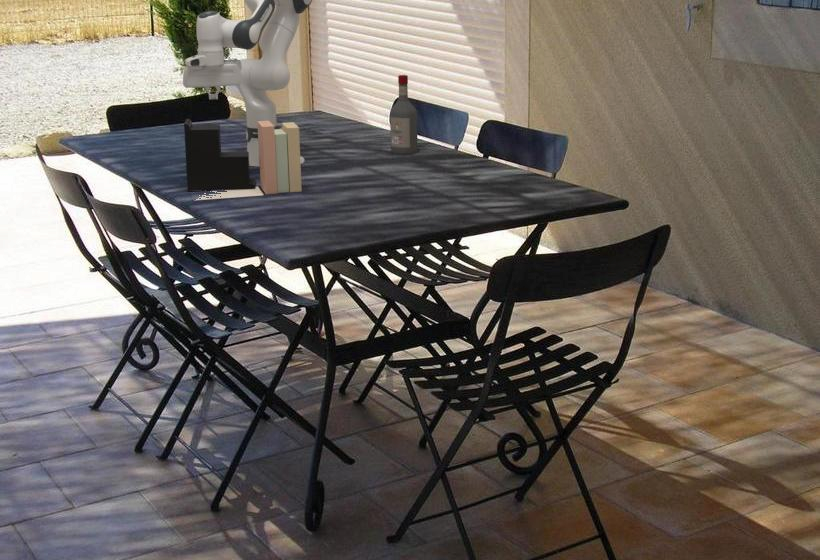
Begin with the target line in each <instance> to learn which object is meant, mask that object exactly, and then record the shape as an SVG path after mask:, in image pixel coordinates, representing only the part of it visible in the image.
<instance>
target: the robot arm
mask: <svg viewBox="0 0 820 560" xmlns="http://www.w3.org/2000/svg"><path fill="white" fill-rule="evenodd" d="M312 2H313V0H244V3H245V5H246V7H247V8H248V9H249V10H250V11H251V12H253V13H252V14H251V16H250V18H247V19H230V18H229V19H228V18H225V17H223V16H221V14H220V12H218V11H217V10H207V11H203V12H201V13H199V14H198V15H197V17H196V29H195V30H196V40H197V43H198V47H197V54H195V55H193V56H190V57H188V58H185V61H184V63H185V65H186V66H184V68H183V72H182V85H183V87H184V88H186V89H190V88H193V89H194V88H205V91H206V93H207V94H208V99H209V101H210V100H212V101H213V100H218V99H219V97H218V96H219V95H218V94H220V91H221V87H230V86H231V87H233V86H235V87H236V88H237V89H238V91H239V93H240V95H241V97H242V99H243V103H244V105H245V106H244V107H245V113H246V114H245V115H246V127H245V129H246V130H245V138H246V142H247V147H246V152H249V167H257V168H258V167H259V168H260V165H259V145H258V126H257V121H270V122H271V123H272V124H273V125H274V129H282V126H279V125H277V108H276V107H277V106H276V105H275V102H274V101H273V100H272V99H270V98H269V96H268V94H267V92H266V91H270V92H271V91H279V90H283V89H285V88H286V87H288V85H289V82H290V79H291V73H290V69H289V67H288V66H287V63H286V58H287V53H288V51H289V49H290V47H291V43H292V41H293V40H294V37H295V35H296V33H297V31H298V27H299V24H300V19H301V15H300V14H302V13H304V11H306V9H308V7H310V5H312ZM257 44H258V45H259V49H260V50H261V51H262V52H263V53H262V56H261V58H260V59H257V58H256V59H255V58H243V59H242V58H241V59H237V58H225V53H224V48H229V49H230V48H231V49H241V50H246V51H247V50H248V51H250V50H252V49H253V48H255V47H256V46H257ZM211 87H215V89H216V92H215V93H211V92H210V91H211ZM209 90H210V91H209ZM304 163H305V158H304V157H303V156H302V155H300V164H301V165H302V164H304Z"/></svg>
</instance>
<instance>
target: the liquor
mask: <svg viewBox="0 0 820 560" xmlns="http://www.w3.org/2000/svg"><path fill="white" fill-rule="evenodd" d="M397 76H398V77H397V78H398V79H397V80H398V81H397V82H398V98H397V101H396V103H395V104H393V106H392V107H391V108H390V113H389V116H390V117H389V118H390V119H389V121H390V125H389V126H390V127H389V128H390V129H389V130H390V151H391V153H392V154H394V155H395V154H396V155H403V156H404V155H412V154H414V153H415V154H416V153H418V150H419V149H418V111H417V108H416V107H415V106H414V105H413V104H412V103H411V101H410V100H409V95H408V94H409V92H408V91H409V90H408V89H409V88H408V83H409V79H408V78H409V77H408V75H406V74H399V75H397Z"/></svg>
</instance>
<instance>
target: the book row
mask: <svg viewBox="0 0 820 560" xmlns="http://www.w3.org/2000/svg"><path fill="white" fill-rule="evenodd" d="M257 126H258V145H259V165H260V167H259V179H260V180H259V181H260V188H261V191H263V193H264V195H271V194H272V195H273V194H274V195H275V194H281V193H299V192H300V193H301V192H302V191H303V189H302V169H301V166H302V164H300V156H301V144H300V143H301V141H300V140H301V139H300V127H299V126H298V125H297V124H296V123H295V122H282V123H281V127H282V129H274V125H273V124H272V123H271V122H270V121H257Z"/></svg>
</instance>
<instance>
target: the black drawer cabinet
mask: <svg viewBox="0 0 820 560" xmlns="http://www.w3.org/2000/svg"><path fill="white" fill-rule="evenodd" d="M183 129H184V131H183V132H184V145H185V165H186V166H185V167H186V168H185V169H186V183H187V184H186V185H187V186H186V187H187V188H186V189H187V191H202V190H221V189H255V188H256V187H257V180H256V179H255V178H254V177H250V166H249V152H247V151H222V145H221V144H222V143H221V125H220V124H205V125H203V124H202V125H201V124H200V125H199V124H198V125H197V124H196V125H193V122H192V120H191V119H190V118H186V119H185V121H184V123H183Z"/></svg>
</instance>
